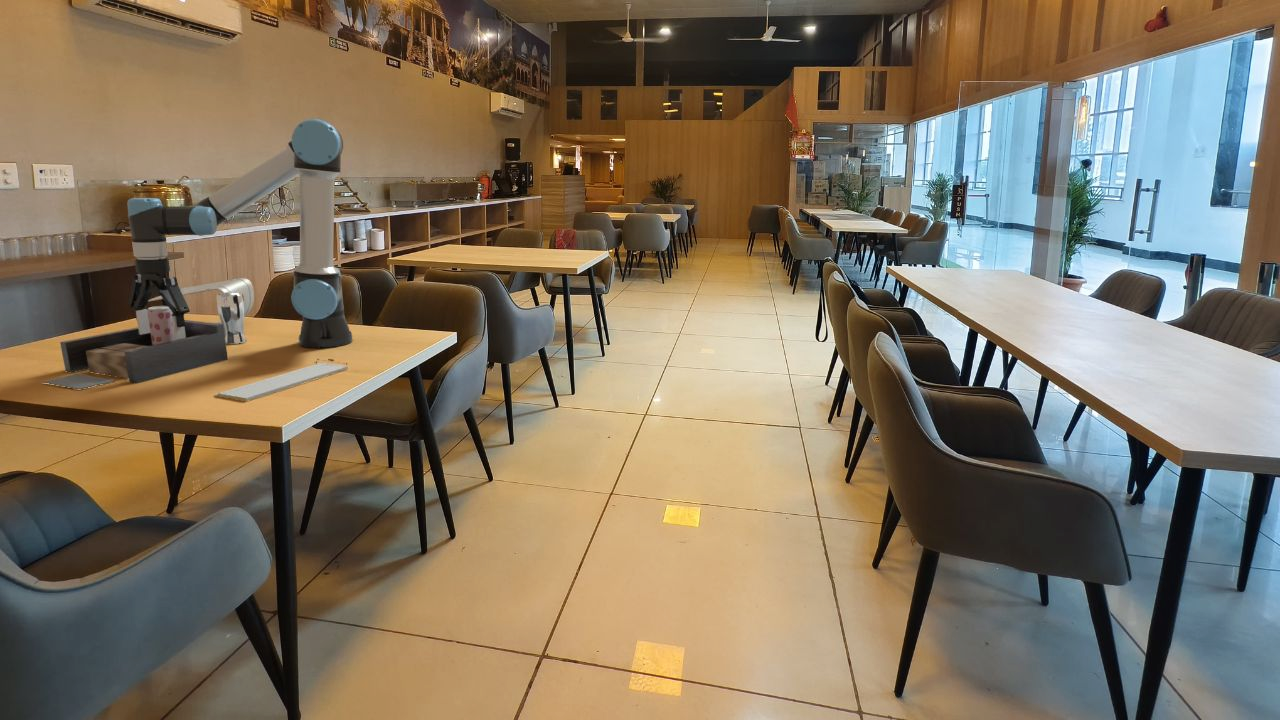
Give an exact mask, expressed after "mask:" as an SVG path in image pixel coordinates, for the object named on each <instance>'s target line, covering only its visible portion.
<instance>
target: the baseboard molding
mask: <svg viewBox="0 0 1280 720" xmlns="http://www.w3.org/2000/svg"><path fill="white" fill-rule="evenodd" d="M318 361H320V358H317V360H316V361H314V364H313V365H309V366H305V367H302V368H299V369H295V370H293V371H290V372H285V373H283V374H278V375H276V376H272V377H269V378H265V379H262V380H258V381H255V382H252V383H248V384H245V385H242V386H238V387H235V388H231V389H228V390H223V391H222V392H218V393H216V394H214V395H213V396H214V397H216V396H219V397H218V398H222V397H225V398H224V399H228V398H231V399H230V400H233V399H237V400H236V401H239V400H243V401H242V402H244V401H247V402H249V401H248V400H251V399H254V400H256V399H255V398H257V399H259V398H258V397H260V398H262V397H261V396H263V397H266V396H269V395H272V394H271V393H273V394H275V393H274V392H276V393H278V391H279V392H281V391H280V390H282V391H285V390H287V389H286V388H288V389H290V388H289V387H291V388H293V387H292V386H295V385H298V384H301V383H304V382H307V381H310V380H313V379H316V378H320V377H323V376H326V375H329V376H331V375H330V374H332V375H334V374H333V373H336V372H339V371H342V372H344V371H343V370H345V371H347V370H348V362H346V363H345V362H344V364H345V365H342V364H341V365H340V364H333V363H334V359H333V358H332V359H331V358H328V359H327V360H326V359H325V360H323V361H324V362H320V363H318ZM325 361H326V362H327V361H329V362H332V363H331V364H330V363H328V362H327V363H325ZM337 363H340V362H338V361H337ZM346 365H347V366H346ZM346 369H347V370H346ZM339 373H340V372H339ZM336 374H337V373H336ZM326 377H327V376H326ZM323 378H324V377H323ZM320 379H321V378H320ZM313 381H314V380H313ZM310 382H311V381H310ZM307 383H308V382H307ZM304 384H305V383H304ZM301 385H302V384H301ZM298 386H299V385H298ZM295 387H296V386H295ZM284 389H285V390H284ZM268 394H269V395H268ZM265 395H266V396H265ZM251 401H252V400H251Z"/></svg>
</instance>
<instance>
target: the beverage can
mask: <svg viewBox="0 0 1280 720" xmlns="http://www.w3.org/2000/svg"><path fill="white" fill-rule="evenodd" d="M147 310H148V312H147V313H148V319H149V326H150V332H151V339H152V345H156V344H160V343H165V342H170V341H174V332H173V325H172V317H171V316H172V314H173V313H172V311H171V310H170V308H169V307H168V305H157V306H156V305H155V306H151V307H147Z"/></svg>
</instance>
